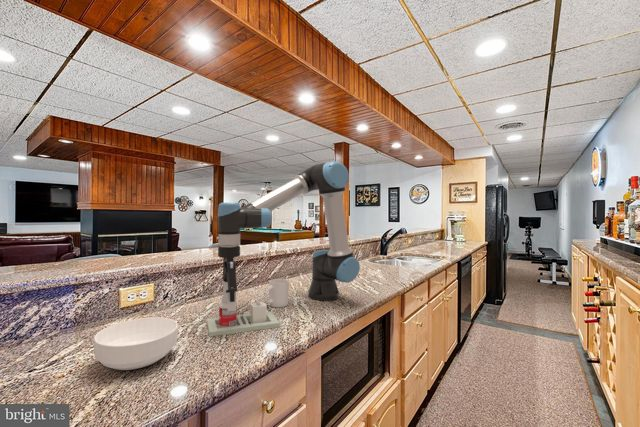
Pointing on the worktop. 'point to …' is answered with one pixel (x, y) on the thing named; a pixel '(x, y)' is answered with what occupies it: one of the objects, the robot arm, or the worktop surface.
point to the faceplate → (241, 325)
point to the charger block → (258, 312)
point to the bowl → (135, 342)
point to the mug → (278, 292)
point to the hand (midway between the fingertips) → (229, 304)
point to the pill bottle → (226, 314)
